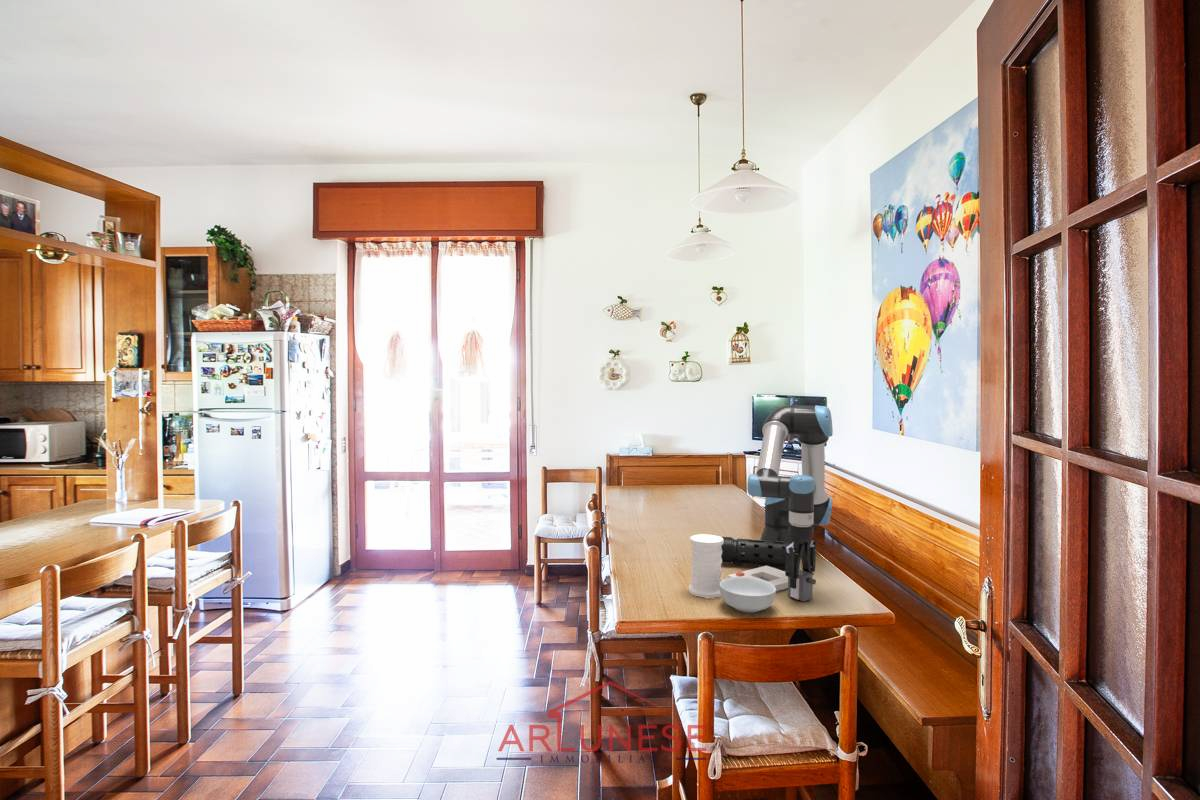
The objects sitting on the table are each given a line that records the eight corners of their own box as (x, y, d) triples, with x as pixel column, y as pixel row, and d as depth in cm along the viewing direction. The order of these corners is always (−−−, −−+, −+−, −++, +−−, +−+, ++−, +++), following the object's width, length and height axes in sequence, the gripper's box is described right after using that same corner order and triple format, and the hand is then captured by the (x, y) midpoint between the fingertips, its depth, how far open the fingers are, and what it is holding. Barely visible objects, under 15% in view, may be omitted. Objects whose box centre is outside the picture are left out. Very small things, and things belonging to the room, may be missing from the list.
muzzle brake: (793, 573, 220) (793, 545, 220) (715, 567, 227) (715, 539, 227) (791, 565, 229) (791, 538, 229) (716, 559, 236) (716, 533, 236)
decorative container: (681, 589, 202) (682, 536, 201) (708, 584, 207) (709, 532, 207) (703, 600, 192) (704, 544, 191) (731, 594, 197) (732, 540, 197)
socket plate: (766, 572, 220) (766, 563, 220) (803, 584, 207) (803, 575, 207) (727, 582, 209) (727, 572, 209) (763, 596, 196) (763, 586, 196)
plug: (787, 595, 195) (788, 571, 195) (796, 592, 198) (797, 568, 197) (809, 603, 188) (810, 578, 188) (818, 600, 191) (819, 575, 190)
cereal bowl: (736, 621, 176) (736, 597, 175) (710, 601, 192) (710, 579, 191) (786, 615, 180) (787, 591, 180) (757, 596, 196) (757, 574, 196)
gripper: (792, 530, 185) (791, 605, 186) (828, 523, 195) (827, 594, 196) (773, 525, 191) (772, 598, 192) (808, 518, 201) (807, 587, 202)
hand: (800, 595), depth 194 cm, fingers closed on plug, 4 cm apart
